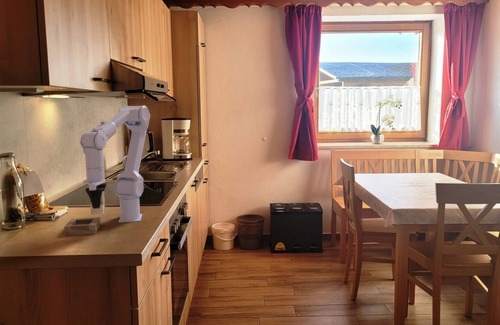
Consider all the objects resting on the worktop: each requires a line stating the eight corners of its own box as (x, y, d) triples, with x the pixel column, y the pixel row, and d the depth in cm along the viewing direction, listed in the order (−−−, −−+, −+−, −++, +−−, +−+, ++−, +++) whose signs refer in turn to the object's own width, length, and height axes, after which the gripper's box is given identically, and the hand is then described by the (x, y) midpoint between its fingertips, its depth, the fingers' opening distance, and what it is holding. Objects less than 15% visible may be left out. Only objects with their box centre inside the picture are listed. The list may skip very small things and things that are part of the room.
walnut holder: (71, 226, 150) (71, 218, 149) (100, 225, 151) (100, 217, 151) (64, 235, 140) (64, 227, 139) (95, 233, 142) (95, 225, 141)
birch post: (92, 211, 143) (91, 191, 142) (105, 210, 144) (103, 191, 143) (90, 214, 139) (89, 194, 138) (103, 213, 140) (102, 193, 139)
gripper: (86, 164, 145) (89, 202, 147) (77, 171, 131) (80, 212, 133) (107, 163, 147) (109, 201, 149) (101, 170, 132) (103, 211, 135)
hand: (97, 206), depth 141 cm, fingers closed on birch post, 4 cm apart
